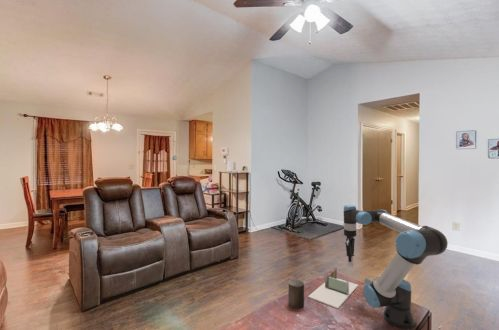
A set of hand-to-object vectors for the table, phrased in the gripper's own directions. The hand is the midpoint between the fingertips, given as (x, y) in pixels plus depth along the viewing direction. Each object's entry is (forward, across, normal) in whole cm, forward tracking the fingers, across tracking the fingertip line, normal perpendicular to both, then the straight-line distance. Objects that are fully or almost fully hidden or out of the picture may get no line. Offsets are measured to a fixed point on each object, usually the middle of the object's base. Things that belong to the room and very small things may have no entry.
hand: (350, 266), depth 164 cm
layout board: (+22, -5, -12) cm, 26 cm away
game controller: (+22, -19, +10) cm, 31 cm away
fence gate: (+20, -6, -10) cm, 24 cm away
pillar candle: (+22, +25, -26) cm, 43 cm away
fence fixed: (+20, -14, -18) cm, 31 cm away
